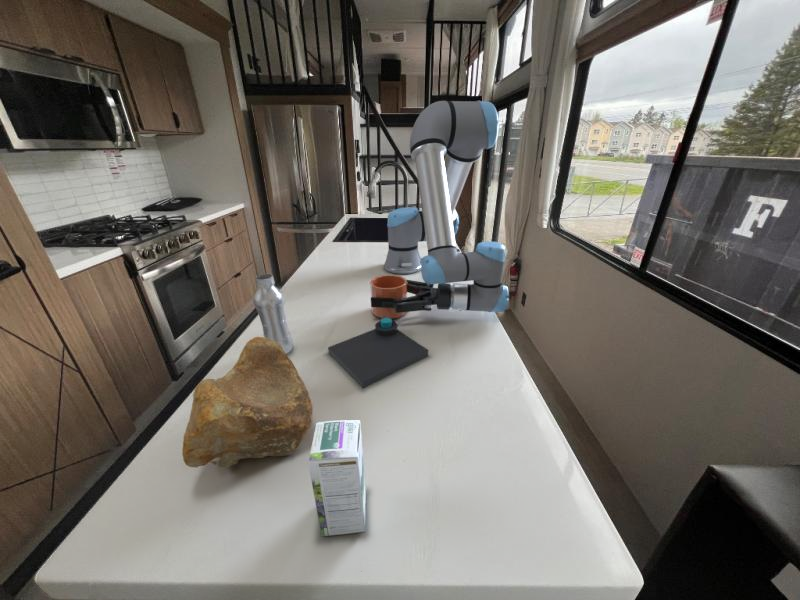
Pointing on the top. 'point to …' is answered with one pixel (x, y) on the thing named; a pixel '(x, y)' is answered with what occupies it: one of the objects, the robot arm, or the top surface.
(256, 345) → the rough brown rock
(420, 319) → the top surface
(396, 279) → the terracotta pot
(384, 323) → the tare button
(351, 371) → the scale
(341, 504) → the syrup box
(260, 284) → the silver water bottle
